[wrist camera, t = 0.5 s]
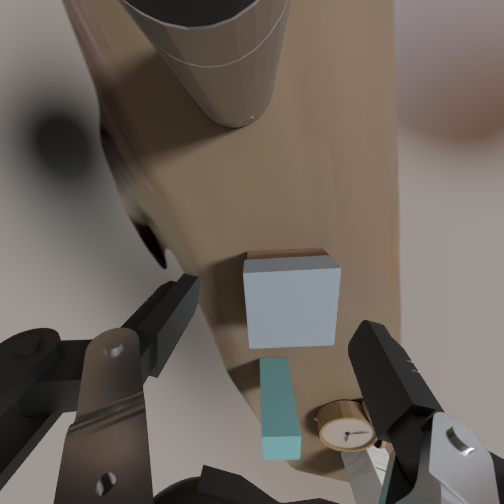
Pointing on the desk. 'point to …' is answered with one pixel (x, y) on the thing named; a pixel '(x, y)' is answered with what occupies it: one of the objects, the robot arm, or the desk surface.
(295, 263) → the tower top
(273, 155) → the desk surface
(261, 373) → the teal block
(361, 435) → the alarm clock
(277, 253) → the block
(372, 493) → the supplement box
